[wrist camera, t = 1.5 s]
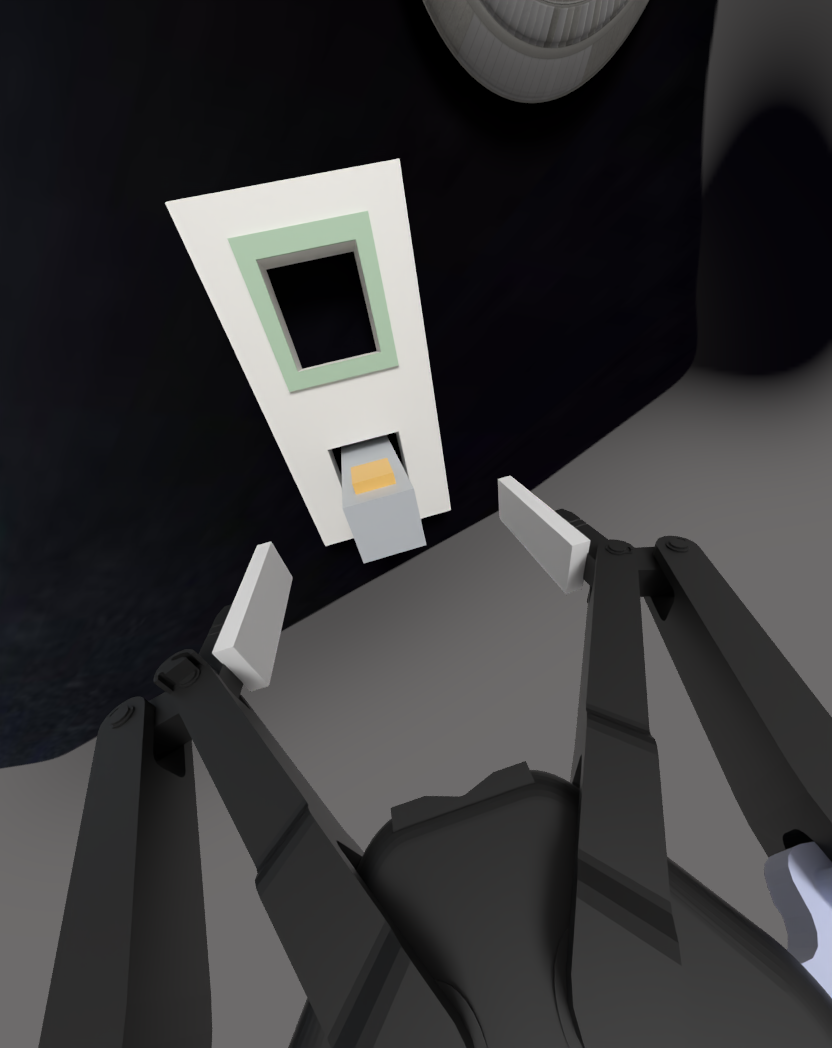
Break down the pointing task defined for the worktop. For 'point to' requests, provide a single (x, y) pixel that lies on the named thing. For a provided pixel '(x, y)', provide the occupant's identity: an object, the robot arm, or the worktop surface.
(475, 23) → the flying saucer
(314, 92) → the worktop surface
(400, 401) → the panel
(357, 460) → the plug
